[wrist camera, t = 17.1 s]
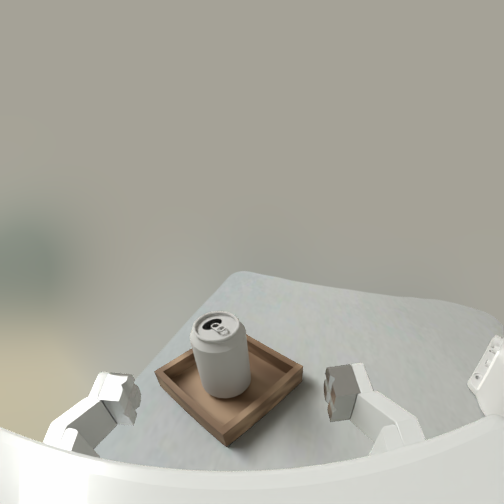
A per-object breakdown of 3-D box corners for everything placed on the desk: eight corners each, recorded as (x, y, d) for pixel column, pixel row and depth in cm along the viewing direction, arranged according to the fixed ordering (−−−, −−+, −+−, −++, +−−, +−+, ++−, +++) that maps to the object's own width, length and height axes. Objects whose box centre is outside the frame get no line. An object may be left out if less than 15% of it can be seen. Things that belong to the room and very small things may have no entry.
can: (231, 359, 49) (222, 300, 44) (261, 383, 44) (256, 323, 38) (193, 381, 45) (177, 322, 40) (222, 410, 39) (208, 352, 34)
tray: (231, 339, 55) (229, 324, 54) (302, 381, 45) (302, 366, 43) (160, 385, 45) (154, 371, 44) (226, 447, 35) (222, 434, 33)
